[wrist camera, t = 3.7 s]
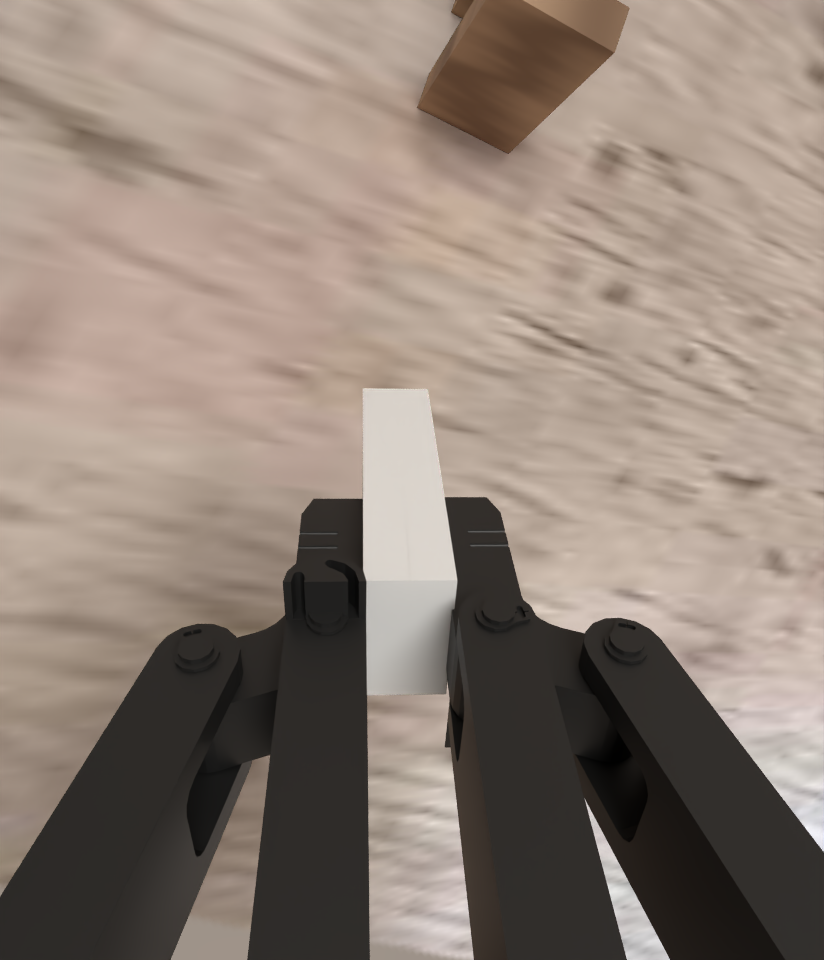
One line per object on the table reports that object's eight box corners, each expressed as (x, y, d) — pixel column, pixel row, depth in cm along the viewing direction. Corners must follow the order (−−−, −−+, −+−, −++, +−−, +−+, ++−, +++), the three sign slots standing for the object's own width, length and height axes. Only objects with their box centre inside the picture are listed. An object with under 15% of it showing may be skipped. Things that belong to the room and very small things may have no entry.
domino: (417, 107, 36) (495, -16, 26) (429, 72, 36) (511, -62, 27) (508, 153, 37) (614, 52, 28) (520, 120, 38) (629, 8, 28)
